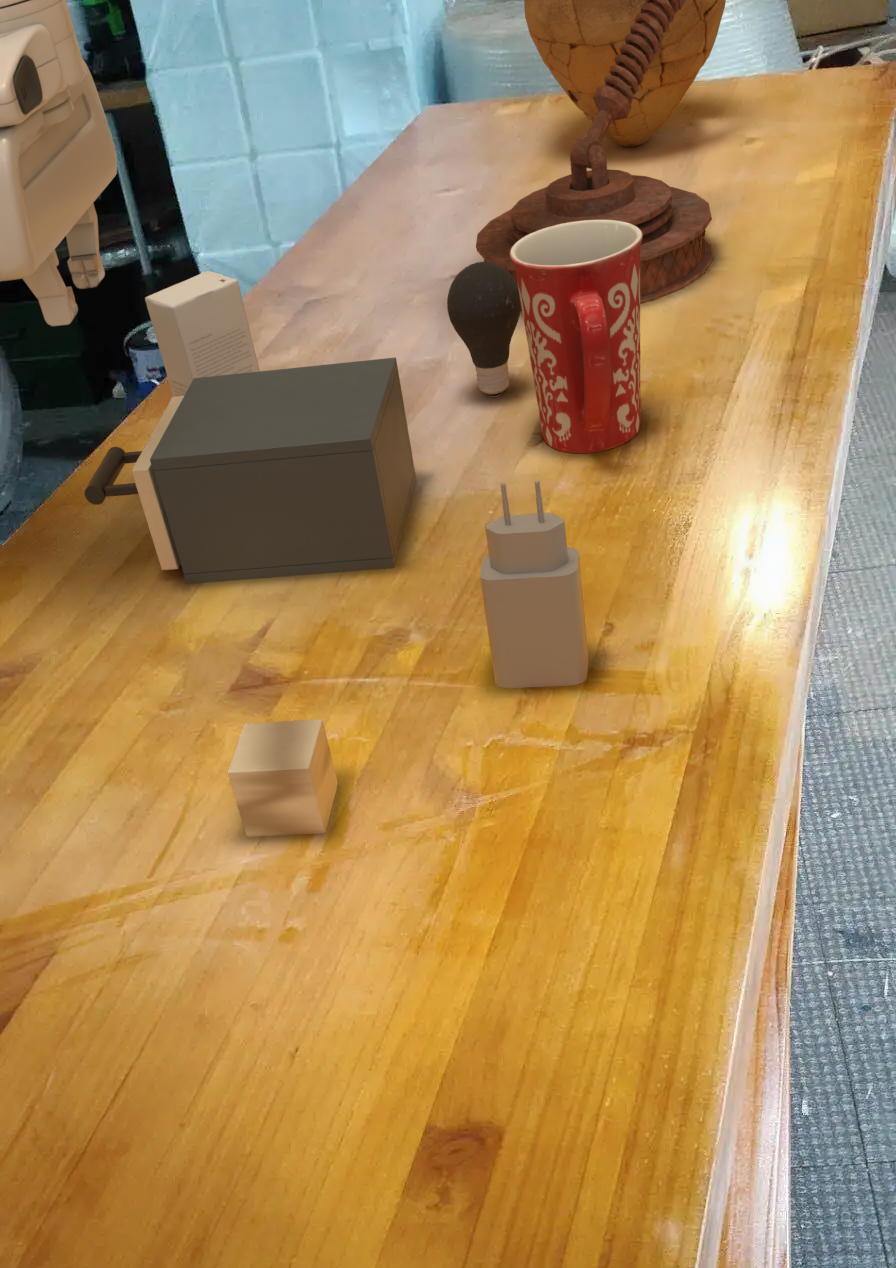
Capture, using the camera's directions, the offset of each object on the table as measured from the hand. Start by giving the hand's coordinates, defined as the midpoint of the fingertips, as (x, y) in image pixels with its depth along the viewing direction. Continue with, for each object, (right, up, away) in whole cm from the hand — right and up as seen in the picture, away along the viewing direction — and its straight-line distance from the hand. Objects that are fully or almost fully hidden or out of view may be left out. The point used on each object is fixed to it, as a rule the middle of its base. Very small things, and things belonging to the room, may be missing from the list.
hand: (77, 302), depth 94 cm
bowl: (+44, +45, +63) cm, 89 cm away
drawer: (+9, -11, +10) cm, 18 cm away
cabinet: (+14, -12, +10) cm, 21 cm away
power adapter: (+29, -25, -7) cm, 40 cm away
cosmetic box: (+6, -1, +23) cm, 24 cm away
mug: (+34, -4, +13) cm, 37 cm away
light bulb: (+28, +2, +22) cm, 35 cm away
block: (+15, -34, -14) cm, 40 cm away
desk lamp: (+36, +19, +38) cm, 56 cm away
